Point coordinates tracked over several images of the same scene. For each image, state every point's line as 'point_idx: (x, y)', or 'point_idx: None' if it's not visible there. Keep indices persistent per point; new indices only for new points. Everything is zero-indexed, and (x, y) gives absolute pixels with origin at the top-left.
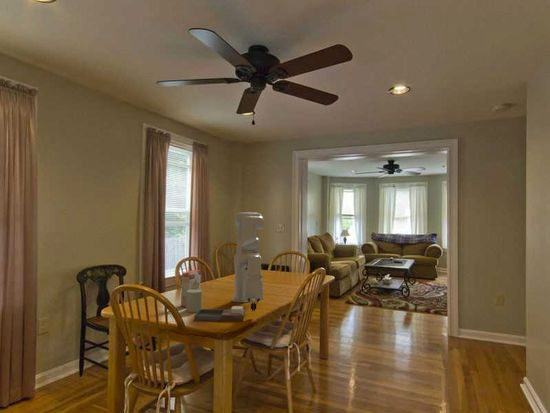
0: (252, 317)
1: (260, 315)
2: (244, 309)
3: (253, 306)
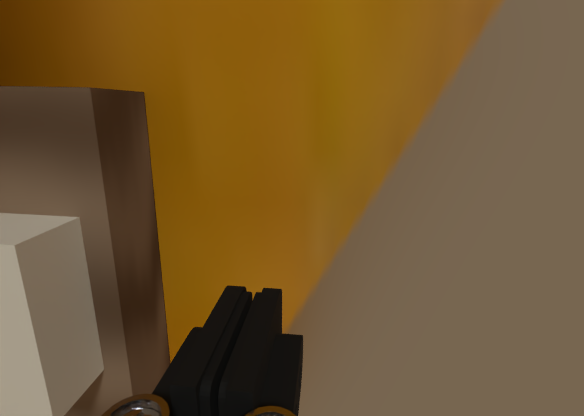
0: (264, 259)
1: (379, 163)
2: (86, 143)
3: (236, 333)
